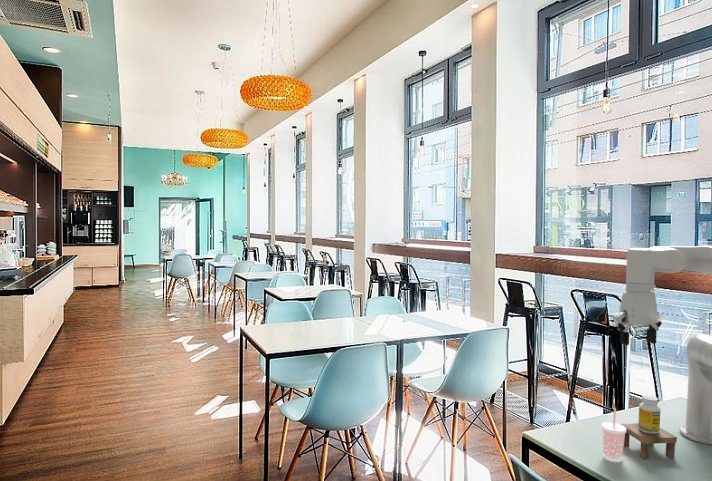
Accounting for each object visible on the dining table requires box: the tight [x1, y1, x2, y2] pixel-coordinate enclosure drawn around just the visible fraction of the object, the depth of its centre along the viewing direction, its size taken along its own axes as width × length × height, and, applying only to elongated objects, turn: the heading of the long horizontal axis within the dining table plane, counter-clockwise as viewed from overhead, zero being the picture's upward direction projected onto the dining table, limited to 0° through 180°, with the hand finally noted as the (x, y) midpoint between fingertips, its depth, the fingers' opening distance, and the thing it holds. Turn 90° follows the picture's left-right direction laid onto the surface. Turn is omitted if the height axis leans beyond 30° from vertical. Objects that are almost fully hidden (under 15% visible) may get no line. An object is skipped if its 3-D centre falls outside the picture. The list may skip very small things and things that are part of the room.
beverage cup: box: [601, 408, 626, 463], centre depth 141 cm, size 6×6×14 cm
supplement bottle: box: [638, 395, 661, 434], centre depth 146 cm, size 5×5×10 cm
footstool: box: [620, 422, 678, 460], centre depth 147 cm, size 10×10×6 cm
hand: (637, 343), depth 157 cm, fingers open, 9 cm apart
